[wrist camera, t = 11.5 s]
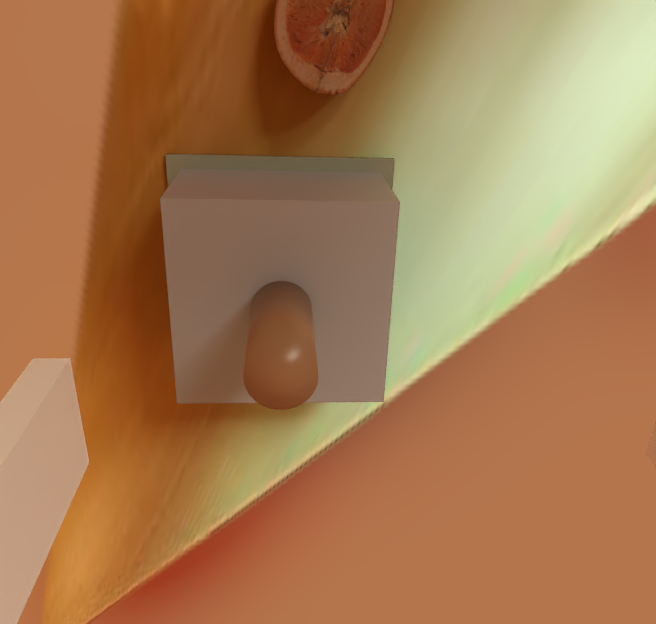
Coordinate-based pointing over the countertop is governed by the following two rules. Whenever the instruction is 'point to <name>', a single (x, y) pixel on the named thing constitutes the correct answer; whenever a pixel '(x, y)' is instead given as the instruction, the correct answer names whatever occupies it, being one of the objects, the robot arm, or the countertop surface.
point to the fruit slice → (330, 39)
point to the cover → (279, 285)
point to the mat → (278, 164)
